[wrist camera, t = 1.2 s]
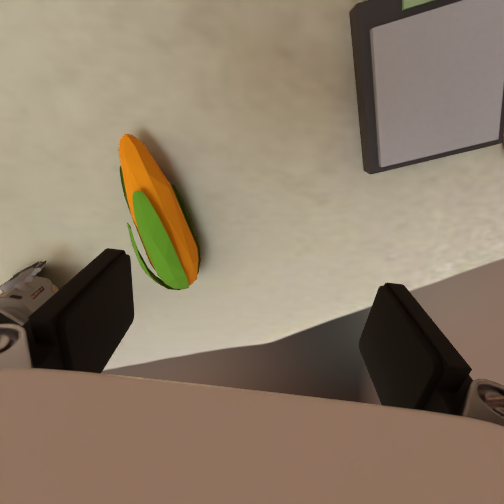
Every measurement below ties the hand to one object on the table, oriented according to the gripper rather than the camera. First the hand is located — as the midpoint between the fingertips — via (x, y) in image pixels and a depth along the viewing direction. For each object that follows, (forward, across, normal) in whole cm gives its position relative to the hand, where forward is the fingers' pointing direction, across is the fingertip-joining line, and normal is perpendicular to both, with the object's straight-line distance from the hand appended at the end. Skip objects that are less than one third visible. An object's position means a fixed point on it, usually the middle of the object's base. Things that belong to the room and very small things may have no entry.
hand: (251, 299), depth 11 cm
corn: (+28, +12, +7) cm, 31 cm away
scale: (+28, -16, -11) cm, 34 cm away
